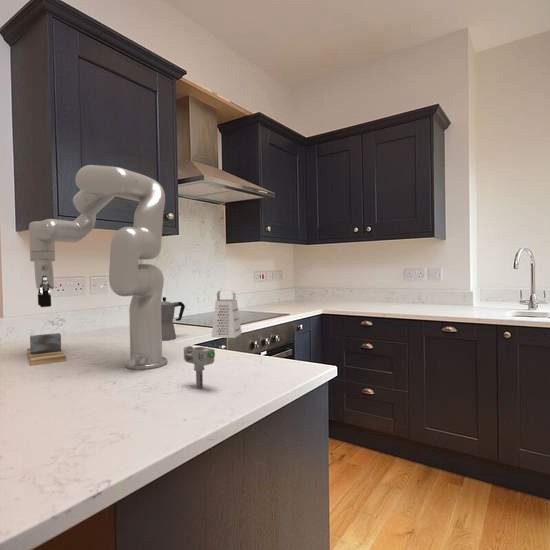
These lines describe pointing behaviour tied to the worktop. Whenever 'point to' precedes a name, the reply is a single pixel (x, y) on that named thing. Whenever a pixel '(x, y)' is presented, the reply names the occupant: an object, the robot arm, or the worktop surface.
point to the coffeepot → (169, 318)
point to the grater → (226, 318)
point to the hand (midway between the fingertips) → (44, 305)
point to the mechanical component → (199, 361)
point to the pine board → (46, 357)
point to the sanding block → (45, 343)
